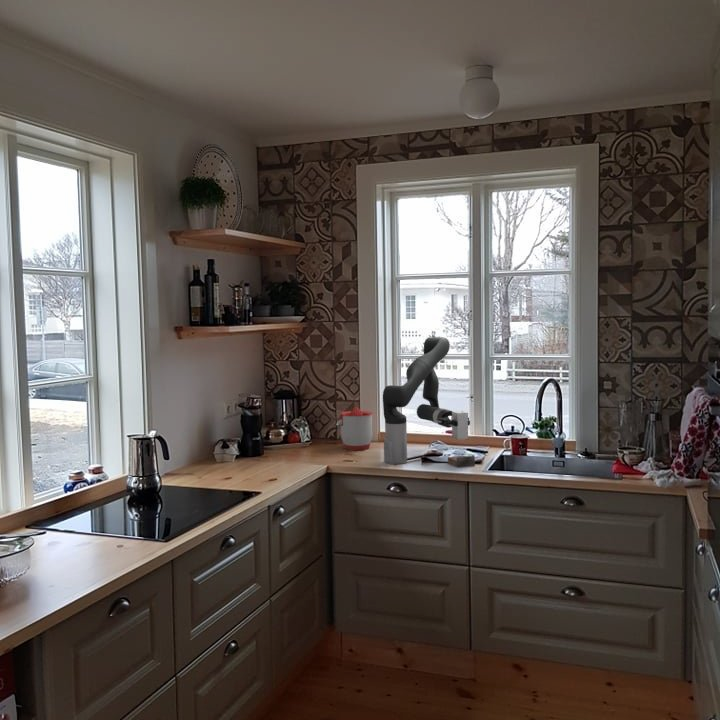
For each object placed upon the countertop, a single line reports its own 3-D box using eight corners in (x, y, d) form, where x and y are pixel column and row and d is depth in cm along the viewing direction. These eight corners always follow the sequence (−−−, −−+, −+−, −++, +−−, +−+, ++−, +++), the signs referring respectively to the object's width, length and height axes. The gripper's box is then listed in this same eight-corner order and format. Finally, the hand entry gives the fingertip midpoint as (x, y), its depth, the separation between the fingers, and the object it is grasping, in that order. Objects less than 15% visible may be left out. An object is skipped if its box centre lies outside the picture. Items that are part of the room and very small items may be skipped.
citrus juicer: (334, 446, 349) (333, 405, 347) (369, 444, 352) (369, 403, 351) (339, 452, 334) (338, 409, 332) (376, 450, 337) (375, 408, 335)
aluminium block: (457, 439, 301) (457, 413, 300) (452, 437, 306) (451, 411, 305) (468, 438, 303) (468, 412, 302) (462, 436, 307) (462, 410, 307)
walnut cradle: (457, 467, 299) (457, 457, 298) (447, 463, 307) (447, 453, 307) (474, 465, 301) (474, 456, 301) (464, 461, 310) (464, 452, 310)
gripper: (429, 410, 314) (447, 416, 298) (458, 408, 319) (478, 413, 303) (429, 427, 315) (447, 433, 299) (458, 424, 320) (478, 431, 304)
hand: (463, 423), depth 301 cm, fingers closed on aluminium block, 5 cm apart
